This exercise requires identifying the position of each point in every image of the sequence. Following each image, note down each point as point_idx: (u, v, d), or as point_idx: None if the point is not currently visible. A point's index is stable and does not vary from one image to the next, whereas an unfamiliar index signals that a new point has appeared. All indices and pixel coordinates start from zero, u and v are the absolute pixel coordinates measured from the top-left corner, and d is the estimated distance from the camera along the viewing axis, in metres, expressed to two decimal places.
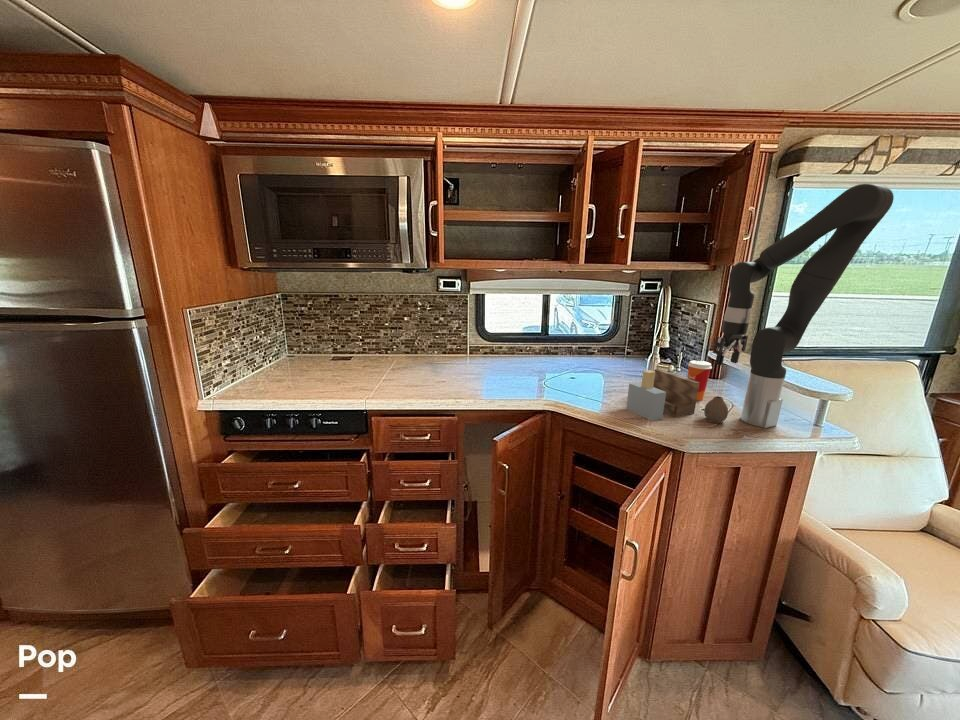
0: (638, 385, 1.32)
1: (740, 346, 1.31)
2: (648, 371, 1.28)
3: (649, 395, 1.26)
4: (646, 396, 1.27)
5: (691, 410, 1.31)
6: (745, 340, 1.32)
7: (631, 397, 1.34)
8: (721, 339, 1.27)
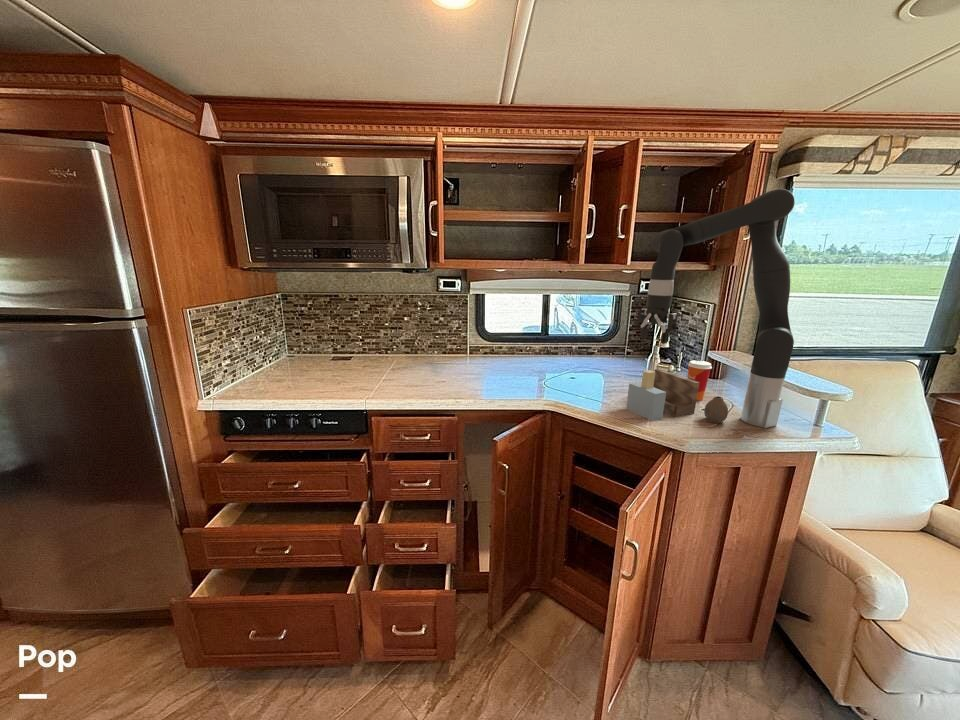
0: (638, 385, 1.32)
1: None
2: (648, 371, 1.28)
3: (649, 395, 1.26)
4: (646, 396, 1.27)
5: (691, 410, 1.31)
6: None
7: (631, 397, 1.34)
8: (675, 315, 1.17)
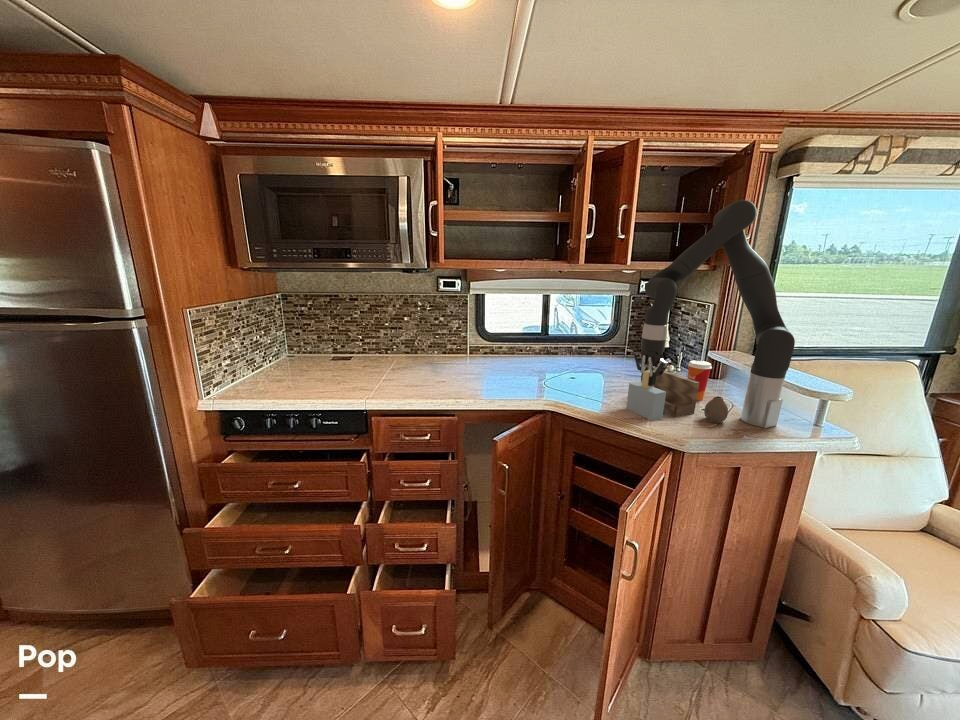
0: (638, 385, 1.32)
1: None
2: (648, 371, 1.28)
3: (649, 394, 1.26)
4: (646, 396, 1.27)
5: (691, 410, 1.31)
6: None
7: (631, 397, 1.34)
8: (667, 364, 1.22)
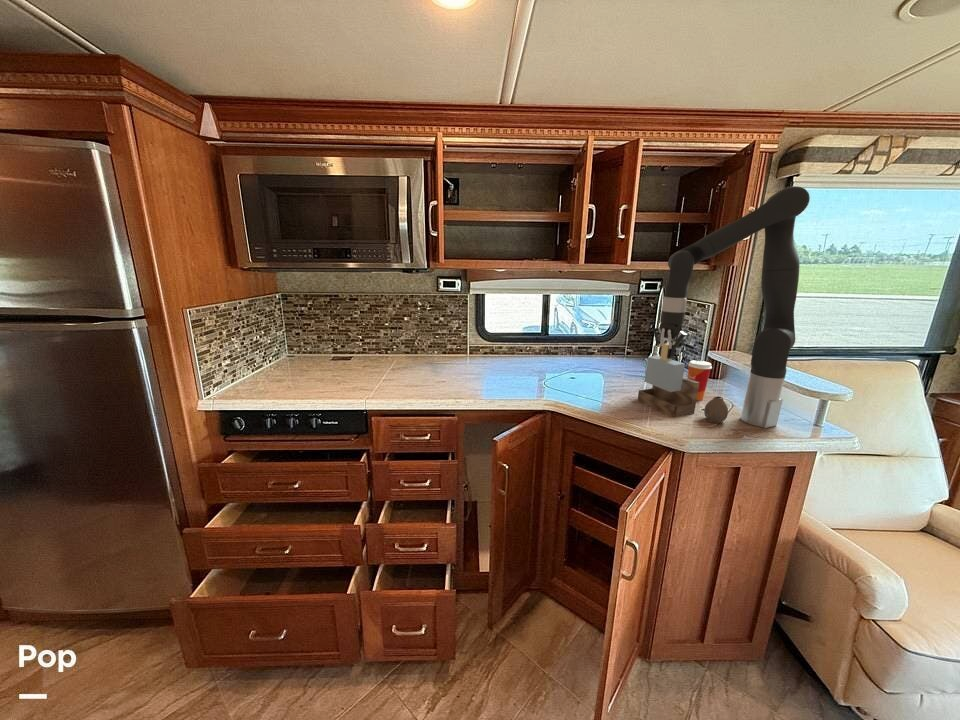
0: (657, 358, 1.35)
1: None
2: (667, 344, 1.31)
3: (669, 366, 1.29)
4: (665, 368, 1.30)
5: (691, 410, 1.31)
6: None
7: (649, 370, 1.37)
8: (686, 336, 1.25)
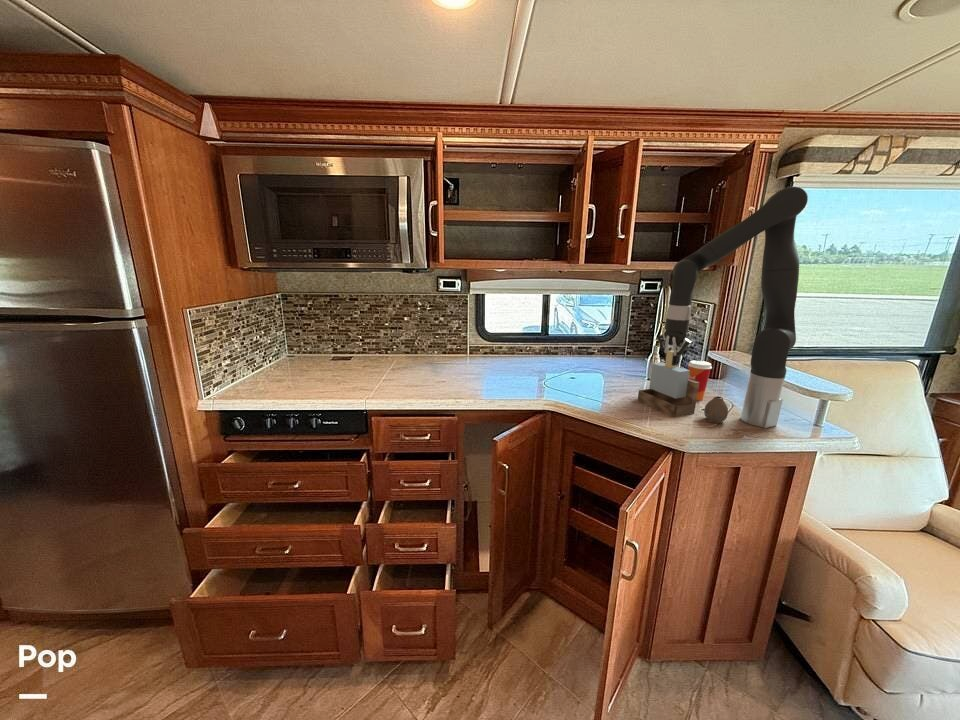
0: (661, 365, 1.37)
1: None
2: (672, 351, 1.33)
3: (673, 373, 1.31)
4: (670, 375, 1.32)
5: (691, 410, 1.31)
6: None
7: (654, 377, 1.39)
8: (691, 343, 1.26)
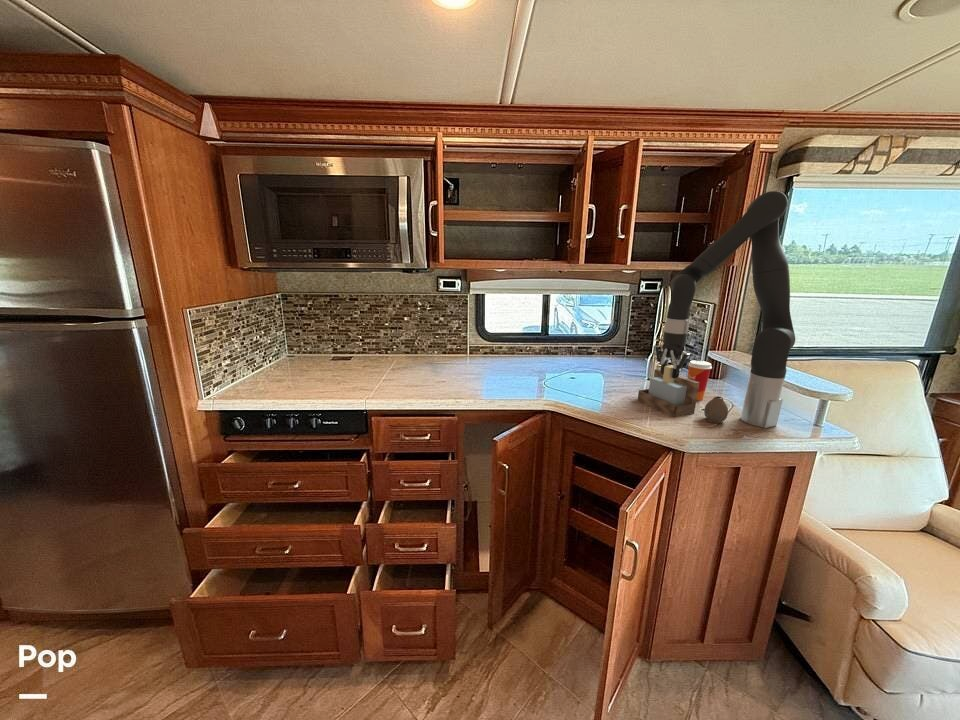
0: (659, 380, 1.38)
1: None
2: (669, 366, 1.35)
3: (671, 389, 1.32)
4: (668, 390, 1.34)
5: (691, 410, 1.31)
6: None
7: (652, 391, 1.40)
8: (689, 355, 1.27)
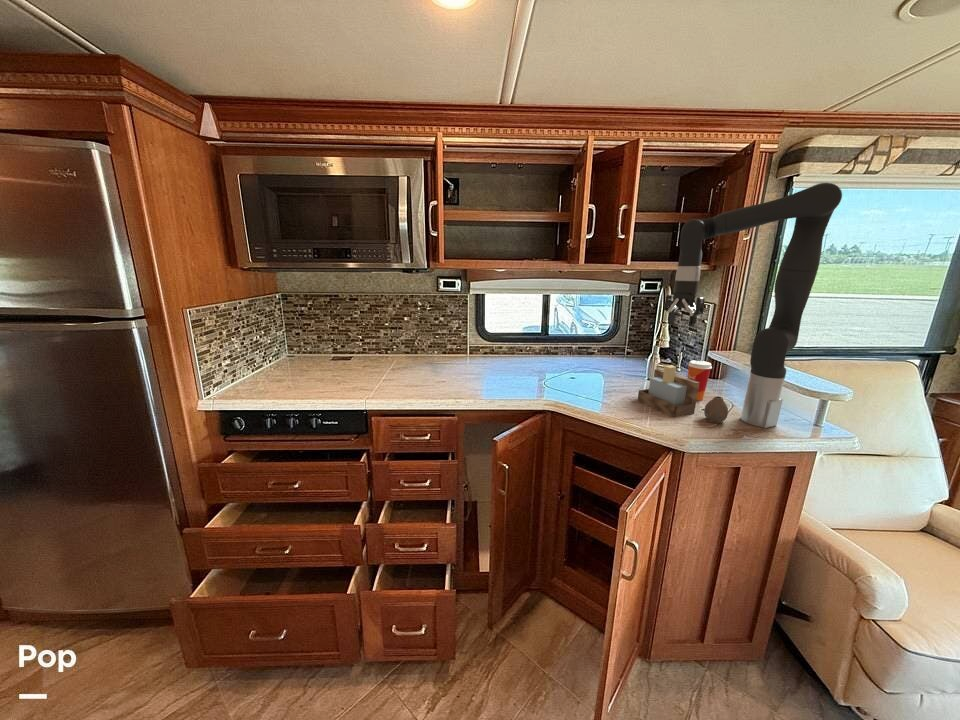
0: (659, 380, 1.38)
1: None
2: (669, 366, 1.35)
3: (671, 389, 1.32)
4: (668, 390, 1.34)
5: (691, 410, 1.31)
6: None
7: (652, 391, 1.40)
8: (703, 299, 1.25)
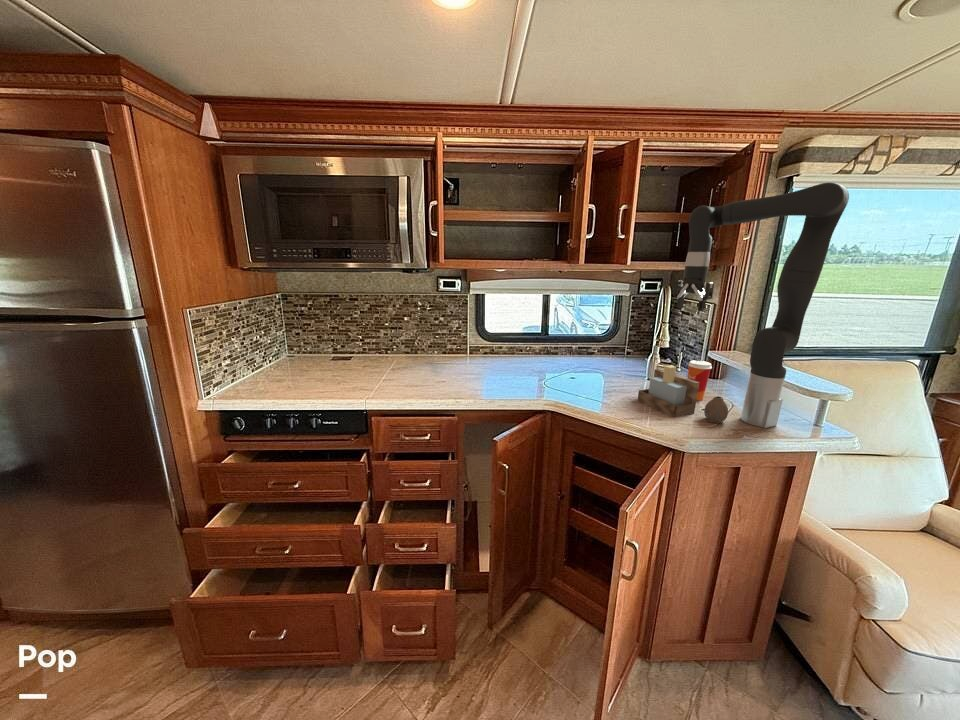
0: (659, 380, 1.38)
1: None
2: (669, 366, 1.35)
3: (671, 389, 1.32)
4: (668, 390, 1.34)
5: (691, 410, 1.31)
6: None
7: (652, 391, 1.40)
8: (712, 283, 1.28)
